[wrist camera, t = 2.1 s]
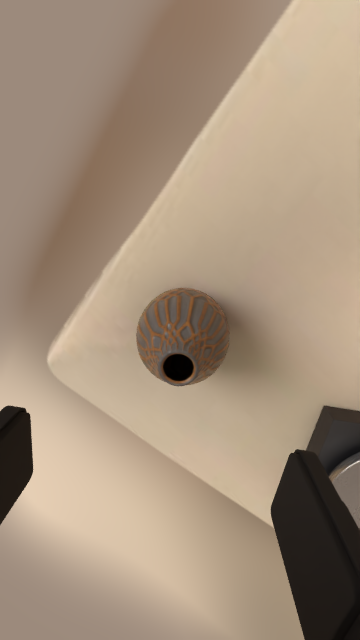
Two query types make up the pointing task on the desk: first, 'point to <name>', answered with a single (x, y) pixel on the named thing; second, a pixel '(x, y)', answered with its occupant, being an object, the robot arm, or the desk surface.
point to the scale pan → (348, 484)
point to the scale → (335, 436)
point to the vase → (182, 336)
